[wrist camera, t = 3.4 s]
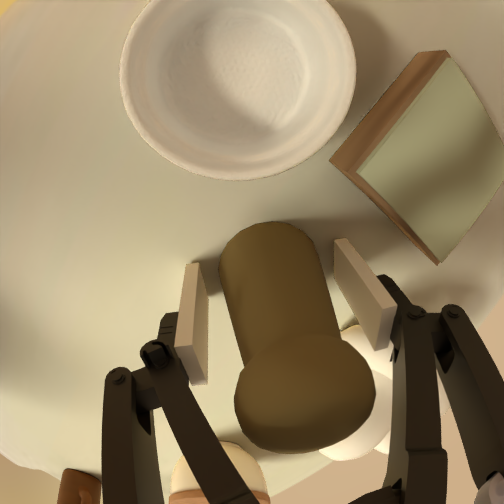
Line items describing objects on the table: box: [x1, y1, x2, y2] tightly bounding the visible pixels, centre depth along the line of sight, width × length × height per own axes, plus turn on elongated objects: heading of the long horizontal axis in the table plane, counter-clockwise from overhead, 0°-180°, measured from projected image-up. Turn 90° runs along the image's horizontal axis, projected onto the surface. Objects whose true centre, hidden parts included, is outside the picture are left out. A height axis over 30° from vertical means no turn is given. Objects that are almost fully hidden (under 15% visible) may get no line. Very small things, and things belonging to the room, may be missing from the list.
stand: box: [329, 50, 504, 265], centre depth 14 cm, size 9×9×3 cm
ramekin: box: [119, 0, 357, 181], centre depth 11 cm, size 9×9×4 cm
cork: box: [218, 222, 376, 454], centre depth 13 cm, size 6×6×11 cm
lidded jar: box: [169, 441, 270, 504], centre depth 26 cm, size 11×11×9 cm
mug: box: [57, 469, 102, 504], centre depth 31 cm, size 12×8×9 cm, turn 142°
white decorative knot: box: [319, 324, 450, 461], centre depth 19 cm, size 11×12×9 cm
